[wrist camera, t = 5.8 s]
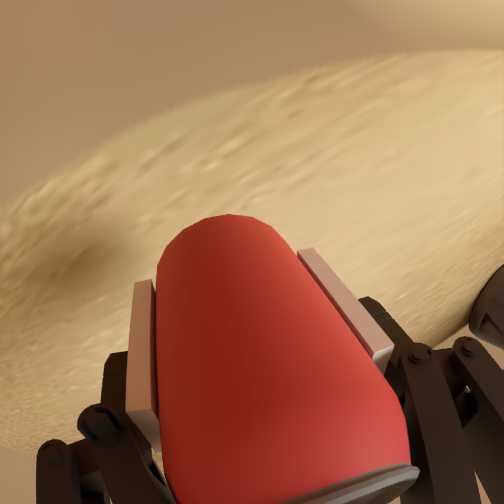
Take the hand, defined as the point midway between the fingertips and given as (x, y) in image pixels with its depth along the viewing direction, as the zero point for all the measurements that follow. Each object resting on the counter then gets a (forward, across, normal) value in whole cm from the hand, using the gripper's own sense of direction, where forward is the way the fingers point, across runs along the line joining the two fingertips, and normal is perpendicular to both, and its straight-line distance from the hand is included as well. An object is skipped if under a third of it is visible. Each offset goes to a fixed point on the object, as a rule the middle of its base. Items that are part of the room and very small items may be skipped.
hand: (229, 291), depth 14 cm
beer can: (+2, 0, 0) cm, 2 cm away
